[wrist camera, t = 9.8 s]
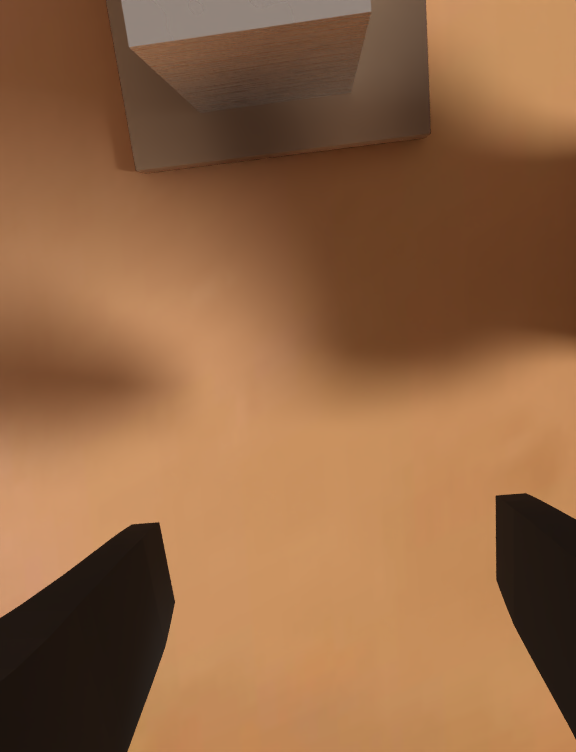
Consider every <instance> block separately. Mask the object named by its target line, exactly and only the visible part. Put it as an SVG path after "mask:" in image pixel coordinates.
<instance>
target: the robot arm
mask: <svg viewBox="0 0 576 752" xmlns="http://www.w3.org/2000/svg"><path fill="white" fill-rule="evenodd" d="M496 580H497V583H498V585H499V588H500V591H501V593H502V596H503V599H504V601H505V604H506V607H507V609H508V612H509V614H510V617H511V619H512V621H513V624H514V626H515V628H516V630H517V632H518V634H519V635H520V637H521V639H522V641H523V643H524V645H525V647H526V648H527V650H528V652H529V654H530V656H531V658H532V660H533V661H534V663H535V665H536V667H537V669H538V671H539V672H540V674H541V676H542V678H543V680H544V681H545V683H546V685H547V687H548V689H549V691H550V692H551V694H552V696H553V698H554V700H555V701H556V703H557V705H558V707H559V709H560V711H561V712H562V714H563V716H564V718H565V720H566V722H567V723H568V725H569V727H570V729H571V731H572V733H573V735H574V737H575V739H576V519H574V518H572V517H570V516H569V515H567V514H565V513H563V512H561V511H559V510H558V509H556V508H554V507H552V506H550V505H548V504H547V503H545V502H543V501H541V500H539V499H537V498H535V497H533V496H531V495H528V494H526V493H523V494H511V495H498V496H496ZM174 604H175V600H174V595H173V590H172V585H171V580H170V575H169V570H168V565H167V559H166V554H165V549H164V544H163V539H162V534H161V529H160V524H159V522H158V523H145V524H133V525H131V526H129V527H127V528H126V529H124V530H123V531H121V532H120V533H118V534H117V535H116V536H114V537H113V538H112V539H110V540H109V541H108V542H106V543H105V544H104V545H102V546H101V547H100V548H98V549H97V550H96V551H94V552H93V553H92V554H90V555H89V556H88V557H87V558H85V559H84V560H83V561H81V562H80V563H79V564H77V565H76V566H75V567H73V568H72V569H71V570H69V571H68V572H67V573H65V574H64V575H63V576H61V577H60V578H58V579H57V580H56V581H54V582H53V583H51V584H50V585H48V586H47V587H46V588H44V589H43V590H41V591H40V592H38V593H37V594H36V595H34V596H33V597H31V598H30V599H29V600H27V601H26V602H24V603H23V604H21V605H20V606H18V607H17V608H15V609H14V610H12V611H11V612H9V613H7V614H6V615H4V616H3V617H1V618H0V752H127V751H128V748H129V746H130V743H131V740H132V737H133V735H134V732H135V729H136V726H137V724H138V721H139V718H140V716H141V713H142V710H143V707H144V705H145V702H146V699H147V696H148V694H149V691H150V688H151V685H152V683H153V680H154V677H155V674H156V672H157V669H158V666H159V663H160V660H161V657H162V655H163V652H164V649H165V645H166V641H167V637H168V633H169V628H170V624H171V619H172V614H173V609H174Z"/></svg>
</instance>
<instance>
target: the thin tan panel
mask: <svg viewBox="0 0 576 752" xmlns="http://www.w3.org/2000/svg"><path fill="white" fill-rule="evenodd" d="M106 4H107V10H108V15H109V21H110V27H111V32H112V38H113V44H114V49H115V55H116V60H117V66H118V72H119V77H120V83H121V89H122V94H123V100H124V106H125V111H126V117H127V123H128V128H129V134H130V140H131V145H132V151H133V157H134V162H135V168H136V171H138V172H142V173H152V172H159V171H167V170H175V169H183V168H191V167H199V166H207V165H215V164H223V163H230V162H238V161H246V160H254V159H262V158H270V157H278V156H286V155H294V154H301V153H309V152H317V151H325V150H333V149H341V148H349V147H357V146H365V145H372V144H380V143H388V142H396V141H404V140H412V139H420V138H425V137H427V136H428V135H429V134H430V133H431V129H430V102H429V74H428V47H427V19H426V0H371V15H370V19H369V23H368V27H367V31H366V35H365V39H364V43H363V47H362V51H361V55H360V59H359V63H358V67H357V71H356V75H355V79H354V83H353V87H352V91H351V93H344V94H337V95H330V96H322V97H315V98H307V99H300V100H293V101H285V102H278V103H270V104H263V105H256V106H248V107H241V108H233V109H226V110H219V111H211V112H204V113H200V112H199V111H198V110H197V109H196V108H195V107H193V106H192V105H191V104H190V103H189V102H188V101H187V100H186V99H185V98H184V97H183V96H181V95H180V94H179V93H178V92H177V91H176V90H175V89H174V88H173V87H172V86H171V85H170V84H168V83H167V82H166V81H165V80H164V79H163V78H162V77H161V76H160V75H159V74H158V73H156V72H155V71H154V70H153V69H152V68H151V67H150V66H149V65H148V64H147V63H146V62H145V61H143V60H142V59H141V58H140V57H139V56H138V55H137V54H136V53H135V52H134V51H133V50H131V49H130V48H129V44H128V38H127V32H126V26H125V20H124V14H123V9H122V3H121V0H106Z"/></svg>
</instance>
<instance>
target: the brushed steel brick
mask: <svg viewBox="0 0 576 752" xmlns="http://www.w3.org/2000/svg"><path fill="white" fill-rule="evenodd" d="M121 3H122V9H123V14H124V20H125V26H126V32H127V38H128V44H129V48H130V49H131V50H133V51H134V52H135V53H136V54H137V55H138V56H139V57H140V58H141V59H142V60H143V61H145V62H146V63H147V64H148V65H149V66H150V67H151V68H152V69H153V70H154V71H155V72H156V73H158V74H159V75H160V76H161V77H162V78H163V79H164V80H165V81H166V82H167V83H168V84H170V85H171V86H172V87H173V88H174V89H175V90H176V91H177V92H178V93H179V94H180V95H181V96H183V97H184V98H185V99H186V100H187V101H188V102H189V103H190V104H191V105H192V106H193V107H195V108H196V109H197V110H198V111H199V112H200V113H204V112H211V111H219V110H226V109H233V108H241V107H248V106H256V105H263V104H270V103H278V102H285V101H293V100H300V99H307V98H315V97H322V96H330V95H337V94H344V93H351V91H352V87H353V83H354V79H355V75H356V71H357V67H358V63H359V59H360V55H361V51H362V47H363V43H364V39H365V35H366V31H367V27H368V23H369V19H370V15H371V0H121Z"/></svg>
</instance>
